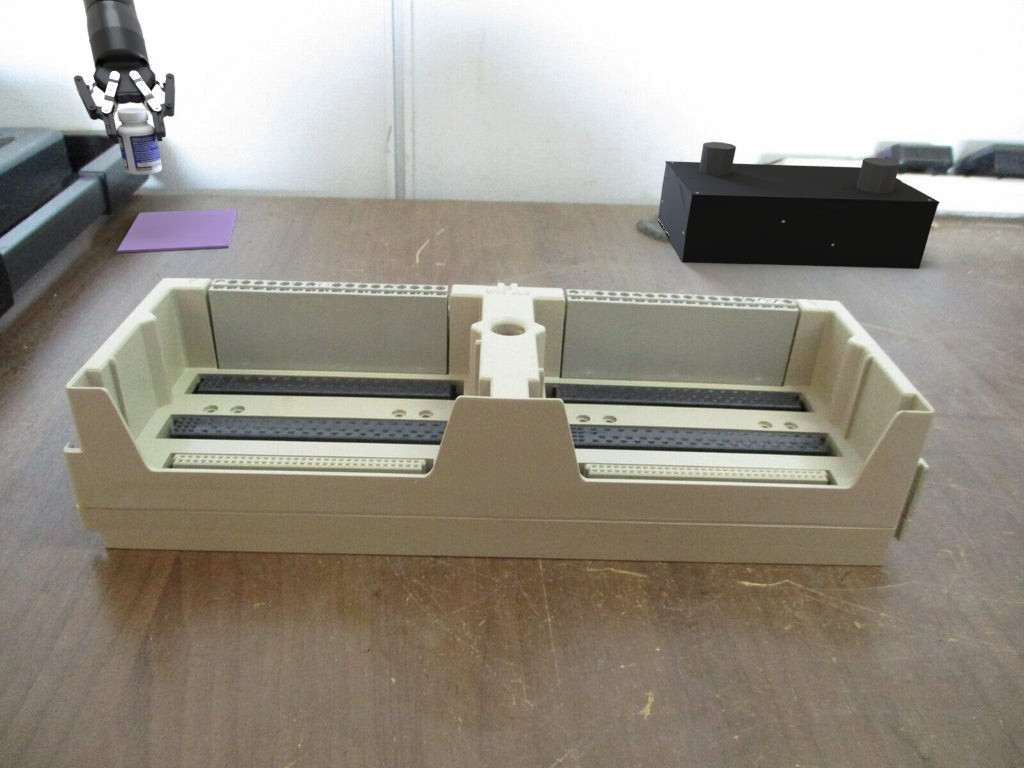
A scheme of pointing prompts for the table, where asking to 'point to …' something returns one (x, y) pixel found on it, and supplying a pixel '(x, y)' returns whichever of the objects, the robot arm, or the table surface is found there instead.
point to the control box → (793, 213)
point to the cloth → (179, 231)
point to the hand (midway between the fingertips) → (138, 139)
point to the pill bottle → (138, 142)
